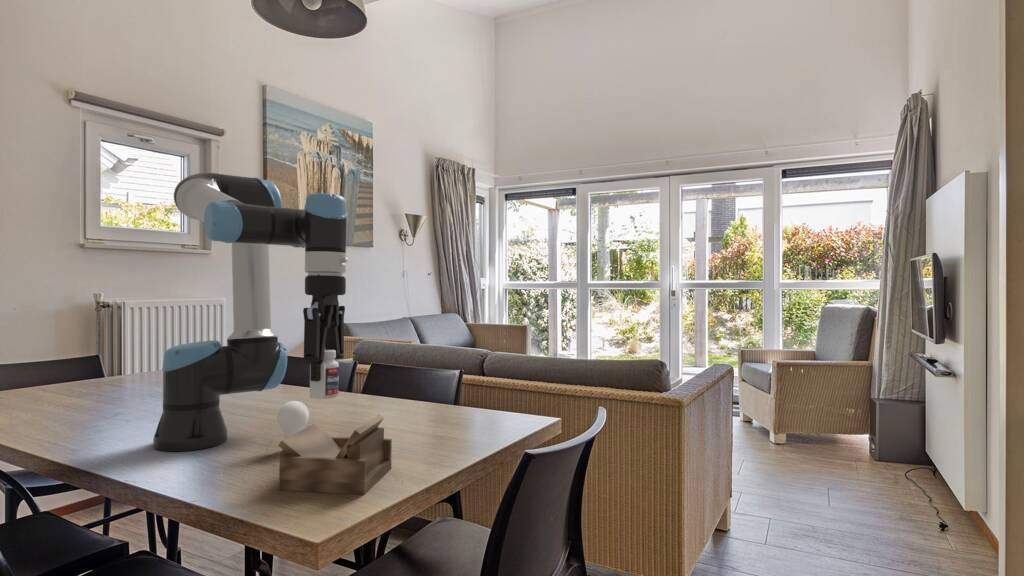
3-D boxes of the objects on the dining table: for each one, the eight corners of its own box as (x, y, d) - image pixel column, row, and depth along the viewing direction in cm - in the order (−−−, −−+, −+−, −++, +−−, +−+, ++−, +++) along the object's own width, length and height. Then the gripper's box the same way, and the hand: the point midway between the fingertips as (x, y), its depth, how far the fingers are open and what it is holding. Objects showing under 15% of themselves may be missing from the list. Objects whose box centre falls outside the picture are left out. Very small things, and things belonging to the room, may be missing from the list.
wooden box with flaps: (274, 489, 104) (275, 428, 104) (312, 464, 119) (312, 410, 119) (364, 494, 103) (365, 431, 103) (391, 468, 118) (391, 413, 117)
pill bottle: (329, 399, 108) (330, 352, 108) (304, 398, 109) (305, 351, 109) (343, 394, 113) (344, 349, 113) (319, 393, 114) (319, 348, 114)
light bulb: (282, 446, 133) (282, 398, 133) (311, 445, 133) (312, 398, 133) (272, 454, 126) (273, 404, 126) (303, 454, 127) (304, 404, 127)
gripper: (323, 273, 102) (322, 405, 102) (361, 275, 120) (360, 387, 120) (283, 273, 102) (281, 403, 103) (327, 275, 121) (326, 386, 121)
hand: (324, 394), depth 111 cm, fingers closed on pill bottle, 5 cm apart
